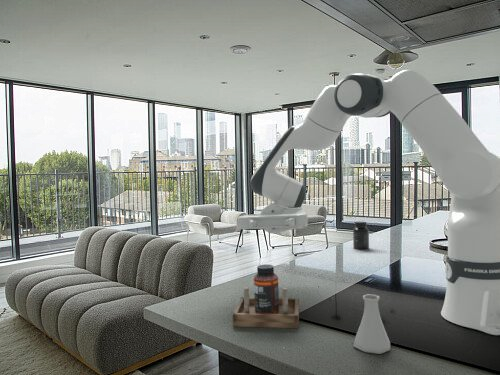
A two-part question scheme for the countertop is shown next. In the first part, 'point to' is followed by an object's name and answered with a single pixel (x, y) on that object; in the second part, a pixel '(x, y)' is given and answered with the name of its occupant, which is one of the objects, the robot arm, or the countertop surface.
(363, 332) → the flask
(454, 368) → the countertop surface
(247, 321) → the tray
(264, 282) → the supplement bottle
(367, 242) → the supplement bottle
